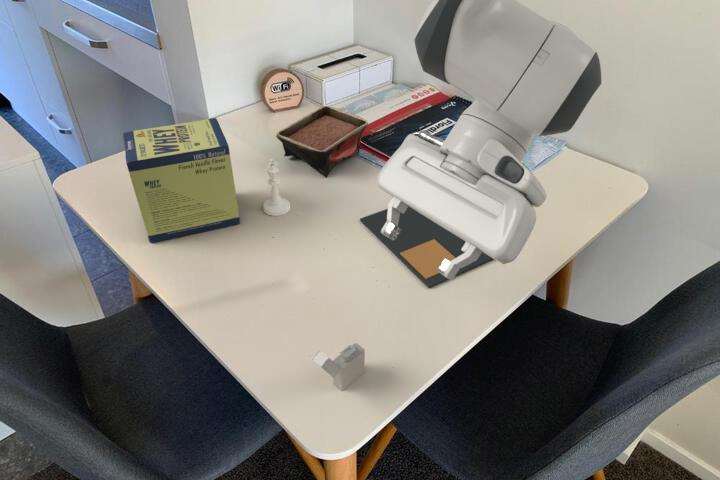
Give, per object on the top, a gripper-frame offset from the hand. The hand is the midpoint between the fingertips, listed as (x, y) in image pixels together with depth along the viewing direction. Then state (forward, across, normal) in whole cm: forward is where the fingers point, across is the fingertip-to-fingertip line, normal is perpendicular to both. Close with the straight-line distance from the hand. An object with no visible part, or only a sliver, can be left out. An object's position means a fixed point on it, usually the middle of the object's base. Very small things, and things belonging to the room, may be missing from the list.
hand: (414, 255), depth 62 cm
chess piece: (+8, -37, +13) cm, 40 cm away
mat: (-3, -13, +24) cm, 27 cm away
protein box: (+17, -44, +4) cm, 47 cm away
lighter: (+19, 0, +2) cm, 19 cm away
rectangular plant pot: (-5, -46, +26) cm, 53 cm away
